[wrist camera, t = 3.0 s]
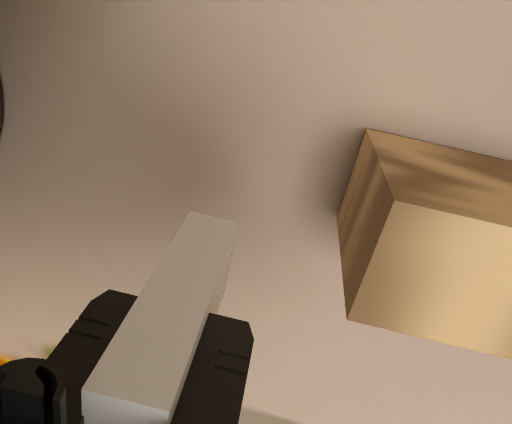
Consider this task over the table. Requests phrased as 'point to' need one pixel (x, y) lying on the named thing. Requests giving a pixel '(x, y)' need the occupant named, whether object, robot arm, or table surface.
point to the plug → (429, 243)
